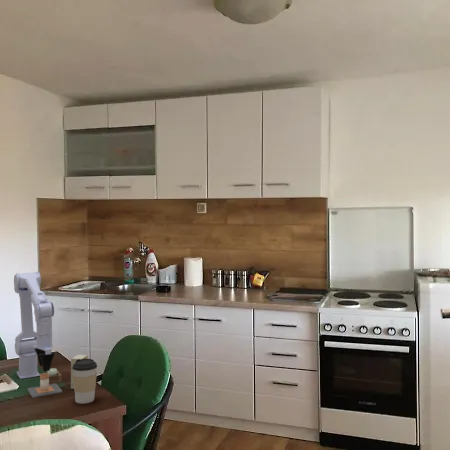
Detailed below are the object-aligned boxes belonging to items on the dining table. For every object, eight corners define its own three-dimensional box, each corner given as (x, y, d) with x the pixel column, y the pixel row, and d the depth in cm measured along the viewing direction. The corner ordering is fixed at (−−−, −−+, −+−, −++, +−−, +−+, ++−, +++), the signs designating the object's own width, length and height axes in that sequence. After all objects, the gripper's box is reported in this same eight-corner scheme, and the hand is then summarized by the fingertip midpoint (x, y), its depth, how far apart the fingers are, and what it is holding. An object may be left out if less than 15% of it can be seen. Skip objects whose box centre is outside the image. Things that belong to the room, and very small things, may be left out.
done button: (46, 376, 209) (46, 369, 209) (55, 374, 211) (55, 367, 211) (48, 379, 206) (48, 371, 206) (57, 377, 208) (57, 370, 208)
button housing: (43, 380, 209) (43, 373, 209) (57, 377, 212) (57, 370, 212) (46, 384, 204) (46, 377, 204) (61, 382, 207) (61, 375, 207)
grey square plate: (27, 389, 199) (27, 387, 199) (56, 384, 204) (56, 383, 204) (32, 397, 190) (32, 396, 190) (62, 392, 196) (62, 390, 196)
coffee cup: (102, 397, 191) (101, 358, 191) (88, 406, 183) (88, 365, 182) (81, 394, 194) (81, 355, 194) (67, 402, 186) (67, 362, 185)
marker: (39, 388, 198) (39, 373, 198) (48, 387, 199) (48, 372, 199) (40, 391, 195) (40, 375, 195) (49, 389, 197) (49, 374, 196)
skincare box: (80, 390, 199) (80, 359, 198) (70, 389, 200) (70, 358, 199) (88, 384, 205) (88, 354, 205) (78, 383, 206) (78, 354, 205)
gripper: (30, 330, 201) (30, 364, 201) (37, 339, 188) (37, 375, 189) (48, 328, 204) (48, 361, 205) (56, 336, 192) (56, 372, 192)
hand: (44, 368), depth 197 cm, fingers open, 7 cm apart
